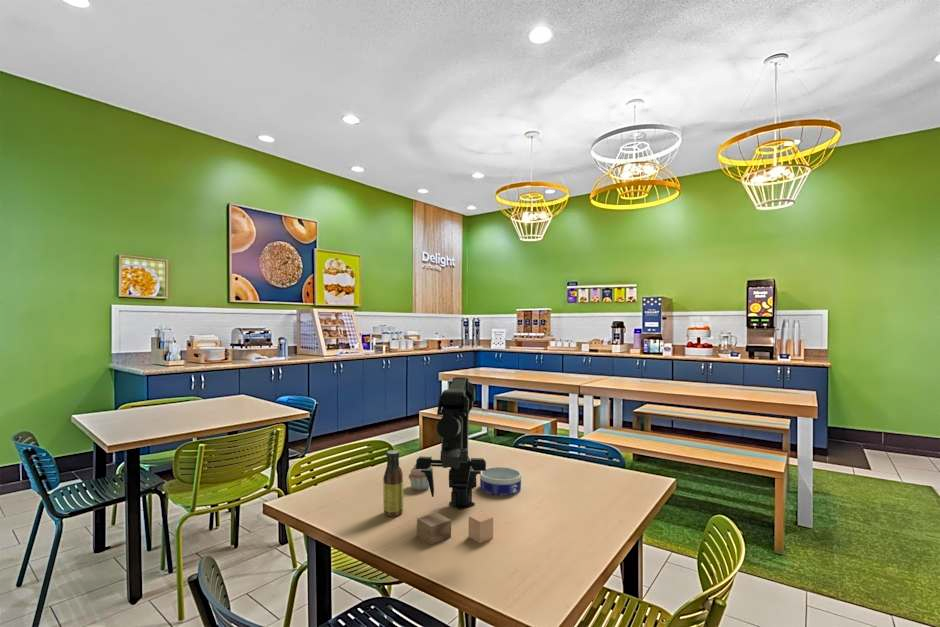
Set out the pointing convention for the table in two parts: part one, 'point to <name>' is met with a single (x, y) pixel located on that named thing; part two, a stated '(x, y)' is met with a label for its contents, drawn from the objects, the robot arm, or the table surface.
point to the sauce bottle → (393, 485)
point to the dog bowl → (500, 481)
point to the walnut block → (433, 528)
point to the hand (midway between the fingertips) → (449, 497)
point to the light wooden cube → (480, 527)
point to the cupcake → (418, 479)
